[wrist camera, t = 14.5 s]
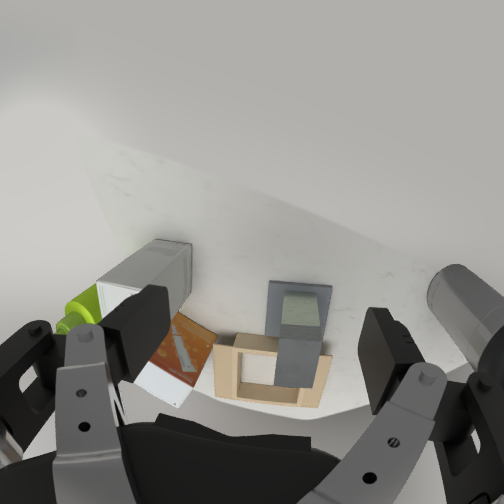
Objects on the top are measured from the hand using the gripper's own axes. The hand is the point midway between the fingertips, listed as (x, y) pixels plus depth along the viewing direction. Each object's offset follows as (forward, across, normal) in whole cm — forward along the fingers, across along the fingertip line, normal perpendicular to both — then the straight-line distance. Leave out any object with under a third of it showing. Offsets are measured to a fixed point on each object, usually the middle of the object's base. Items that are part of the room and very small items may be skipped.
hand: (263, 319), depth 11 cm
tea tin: (+27, -3, +15) cm, 31 cm away
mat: (+28, -3, +15) cm, 32 cm away
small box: (+28, +14, +22) cm, 38 cm away
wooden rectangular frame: (+28, 0, +26) cm, 38 cm away
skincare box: (+28, +16, +10) cm, 34 cm away
